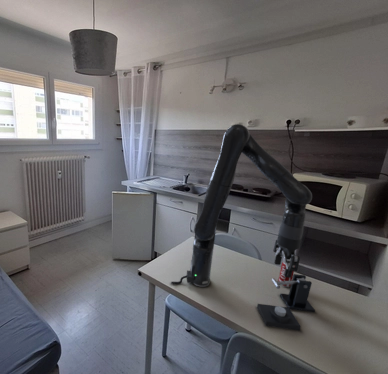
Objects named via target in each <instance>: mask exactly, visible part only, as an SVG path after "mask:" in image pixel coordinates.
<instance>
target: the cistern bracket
mask: <svg viewBox="0 0 388 374" xmlns="http://www.w3.org/2000/svg"><path fill="white" fill-rule="evenodd" d="M296 278H304V279H305V280H306V281H302V280H299V281H298V284H291V286H290V287H289V291H288V293H279V297H280V298H281V300H282V302H283V303H284V304H285V307H288V308H289V309H290V310H291V311H292V310H293V311H300V312H307V313H308V312H309V313H316V309H315V308H314V307H313V306H312V304H311V303H310V302H309V301H308V299H309V295H310V291H311V287H312V281H310V280H307V279H306V278H307V276H306V275H305V274H298V273H293V278H292V281H296V280H297V279H296Z"/></svg>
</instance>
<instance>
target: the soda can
mask: <svg viewBox="0 0 388 374" xmlns="http://www.w3.org/2000/svg"><path fill="white" fill-rule="evenodd" d="M287 261H290V260H287ZM288 264H289V265H290V263H288ZM280 265H281V267H280V270H279V275H278V280H277V281H292V279H293V275H294V274H295V271H292V275H291V277H290V278H288V277H285V276H284V274H285V269H286V263H284V260H283V261H281V264H280ZM294 268H295V266H294ZM281 286H282V287H284V288H291V284H288V285H281Z"/></svg>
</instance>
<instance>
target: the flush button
mask: <svg viewBox="0 0 388 374" xmlns="http://www.w3.org/2000/svg"><path fill="white" fill-rule="evenodd" d="M275 306H276V307H275V313H276V314H277V315H279V316H281V317H284V316H285V315H286V310H285V309H284V308H283V307H284V306H281V307H280V305H275Z"/></svg>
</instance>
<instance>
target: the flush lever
mask: <svg viewBox="0 0 388 374" xmlns="http://www.w3.org/2000/svg"><path fill="white" fill-rule="evenodd" d="M296 279H297V280H296V281H278V280H276V278H274V277H272V278H271V282H272V283H273V285H274V286H275V288H276V289H278V290H279V289H281V286H282V285H288V284H298V281H299V280H302V281H307V279H304V278H296Z"/></svg>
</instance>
